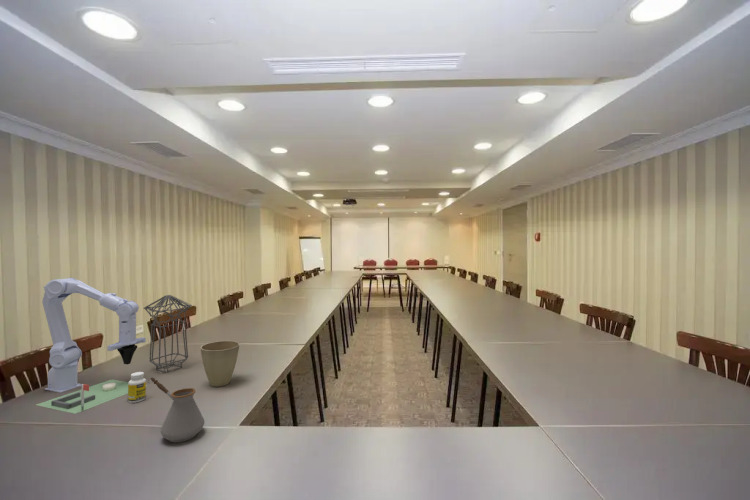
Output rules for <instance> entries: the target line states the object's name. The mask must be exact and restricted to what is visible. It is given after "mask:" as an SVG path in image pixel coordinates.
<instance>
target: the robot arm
mask: <svg viewBox="0 0 750 500" xmlns="http://www.w3.org/2000/svg"><path fill="white" fill-rule="evenodd" d="M43 288H44V294H43V297H42V302H41V303H42V307H43V309H44V315H45V319H46V321H47V325H48V328H49V329H48V330H49V333H50V337H51V341H52V344H53V345H52V347H51V348H50V350H49V359H48V363H49V365H50V366H51V368H50V369H49V370H48V372H47V387H46V388H45V389H44V390H45V391H51V392H55V393H63V392H66V391H70V390H73V389H75V388H80V387H81V384H82V383H79V382H78V372H79V371H78V365H79V364H78V363H79V360H80V359H81V357H82V355H83V352H82V350H81V349H80V347H79V346H78V344H77V342H76V341H75V340H73V339H72V337H71V333H70V329H69V325H68V321H67V318H66V317H67V316H66V314H65V310H64V307H63V306H64V305H63V302H64V301H65V300H66V299H67V297H69V296H71V295H72V294H79V295H82V296H85V297H88V298H90V299H93V300H95V301H98V303H99V305H100V306H101V307H104V308H106V309H109V310H110V311H112V312H114V313H116V315H117V316H118V319H119V321H118V342H115V343H112V344H109V345H107V348H106V349H107V351H108V352H113V351H114V350H117V352H118V353H119V355H120V356H121V359H122V362H123V365H130V364H131V362H132V359H133V357H134V353H135V352H136V350H137V349H138V345H137V344H142V343H146V342H147V341H146V340H147V339H146V337H138V338H137V313H138V311H139V307H140V306H139V305H138V303H137V302H136V301H135V300H128V299H127V298H122V297H120V296H118V295H117V293H115V292H107V293H105V292H102V291H101V290H98V289H96V288H95V287H92V286H91V285H89V284H86V283H85V282H83V281H82V280H79V279H76V278H75V277H67V278H57V279H56V278H55V279H51V280H50V281H48V282H47V284H45V286H44V287H43Z"/></svg>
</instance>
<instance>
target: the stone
mask: <svg viewBox="0 0 750 500" xmlns="http://www.w3.org/2000/svg"><path fill="white" fill-rule="evenodd" d="M114 389H116V383H107V384H104V385H103V391H104V392H108V391H112V390H114Z"/></svg>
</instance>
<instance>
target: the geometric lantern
mask: <svg viewBox="0 0 750 500" xmlns="http://www.w3.org/2000/svg"><path fill="white" fill-rule="evenodd" d="M154 304H155V305H154ZM152 305H154V306H152ZM173 305H174V307H175V308H174V309H172V306H173ZM192 306H193V305H192V304H191V303H188V302H187V301H184V300H182V299H180V298H177V297H176V296H174V295H171V294H167V295H163V296H162V297H160V298H158V299H157V300H155V301H153V302H151V303H149V304H148V305H146V306H145V307H143V309H144V310H145V311H146V312H147V314H148V315H149V317H152V318H153V319H152V323H151V324H150V341H149V342H150V343H149V344H150V345H149V347H150V348H149V362H150V363H151V364H153V365H154V366H155V370H156V371H158V372H162V373H169V372H172V371H173V372H174V371H175V370H179V369H182V368H183V363H184V362H185V361H187V360H188V358H189V353H188V352H189V351H188V337H187V326H186V325H187V324H186V320H182V317H181V316H180V315H181V314H182V313H184V317H183V318H186V312H187V310H189V309H190V308H191V307H192ZM156 309H158V310H156ZM161 309H162V310H161ZM174 311H176V312H177V313H176V314H173V312H174ZM179 311H180V312H179ZM154 312H155V313H154ZM169 312H170V313H169ZM159 313H164V314H166V315H168V316H169V319H168V320H164V321H163V320H162V321H158V319H157V318H158V316H159ZM173 317H176V318H175V319H174V318H173ZM178 318H179V319H178ZM170 321H171V324H168V323H169V322H170ZM164 322H166V323H165V324H164V325H163V326H161V323H164ZM174 322H175V323H174ZM178 322H179V323H178ZM156 324H157V325H156ZM167 324H168V325H167ZM178 325H181V329H182V338H183V348H184V354H181V353H180V352H179V335H178V334H179V333H178ZM174 326H175V331H176V332H175V333H176V334H175V335H176V349H177V353H176V352H175V353H173V352H174V348H173V347H174ZM156 327H158V328H159V339H158V342H159V343H158V356H157V357H155V358H154V350H155V349H154V347H155V333H156V331H155V330H156ZM167 327H171V350H170V351H171V353H169V354H167V349H166V348H167V346H166V344H167V343H166V328H167ZM162 328H163V343H164V345H163V347H164V355H162V356H161V341H162V338H161V337H162ZM173 355H175V357H174V358H173ZM168 356H170V360H167V357H168ZM178 356H182V357H184V359H180V360H176V358H177V357H178ZM162 358H164V361H165V362H162V363H161V359H162ZM155 360H158V363H157V362H155ZM176 363H178V364H176ZM172 367H173V368H174V367H177V368H174V369H170V370H169V368H172ZM161 369H164V370H161Z"/></svg>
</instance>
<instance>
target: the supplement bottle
mask: <svg viewBox="0 0 750 500" xmlns="http://www.w3.org/2000/svg"><path fill="white" fill-rule="evenodd" d="M144 376H145V372H143V371H136V372H133V373H131V374H130V380H129V381H128V382H129V383H128V394H127V402H128V403H132V404H133V403H134V404H135V403H140V402H143V401H144V400H145V399H146V397H147V395H146V394H147V386H146V385H147V379H146V378H145V377H144Z"/></svg>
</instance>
